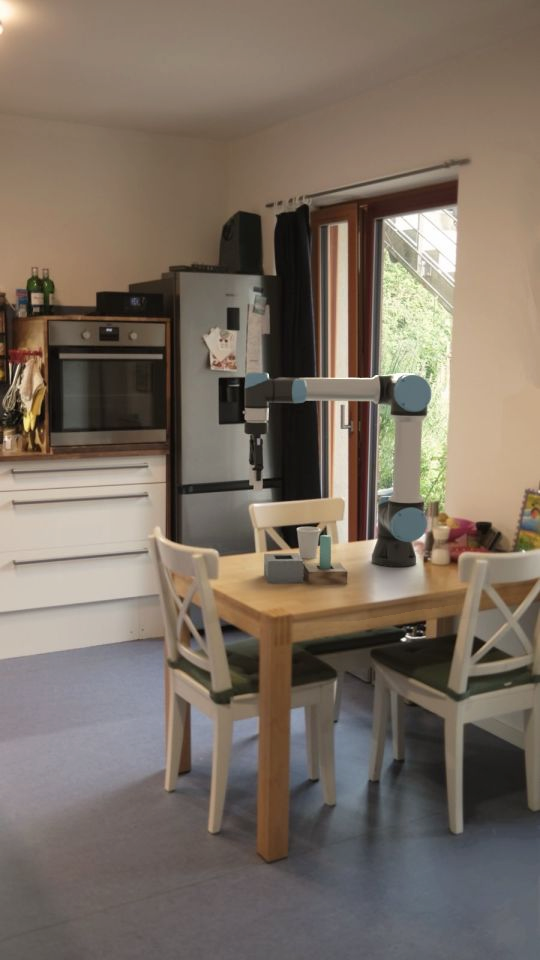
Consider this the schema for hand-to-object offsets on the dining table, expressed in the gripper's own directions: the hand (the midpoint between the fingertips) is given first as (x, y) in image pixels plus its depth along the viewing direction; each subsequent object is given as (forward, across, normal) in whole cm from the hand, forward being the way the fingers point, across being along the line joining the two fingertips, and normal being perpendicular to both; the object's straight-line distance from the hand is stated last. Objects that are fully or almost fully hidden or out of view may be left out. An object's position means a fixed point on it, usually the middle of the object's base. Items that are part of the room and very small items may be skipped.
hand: (255, 488), depth 312 cm
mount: (+28, +10, +21) cm, 36 cm away
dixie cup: (+28, -24, +21) cm, 43 cm away
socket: (+28, +8, +8) cm, 30 cm away
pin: (+28, +10, +21) cm, 36 cm away
